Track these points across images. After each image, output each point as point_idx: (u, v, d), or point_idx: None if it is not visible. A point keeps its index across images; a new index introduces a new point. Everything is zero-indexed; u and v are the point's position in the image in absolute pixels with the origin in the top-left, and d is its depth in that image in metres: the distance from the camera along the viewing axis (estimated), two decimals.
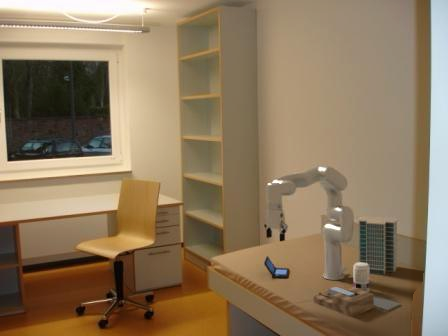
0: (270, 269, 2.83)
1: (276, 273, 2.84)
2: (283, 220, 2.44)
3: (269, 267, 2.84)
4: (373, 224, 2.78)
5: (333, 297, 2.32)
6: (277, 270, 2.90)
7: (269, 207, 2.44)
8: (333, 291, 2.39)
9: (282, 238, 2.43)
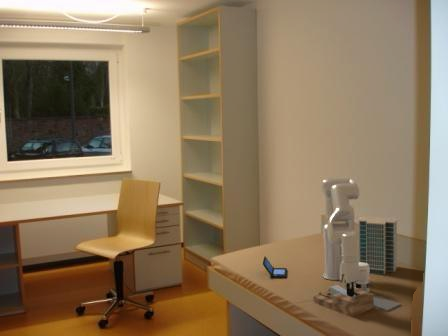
0: (268, 269, 2.83)
1: (274, 273, 2.85)
2: None
3: (267, 267, 2.84)
4: (373, 224, 2.78)
5: (333, 297, 2.32)
6: (275, 270, 2.90)
7: (356, 259, 2.29)
8: (334, 290, 2.39)
9: (353, 291, 2.33)
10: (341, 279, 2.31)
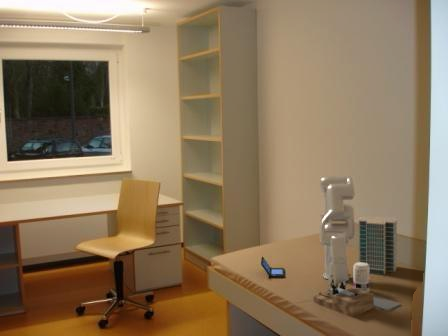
0: (267, 269, 2.83)
1: (272, 273, 2.85)
2: None
3: (265, 267, 2.84)
4: (373, 224, 2.78)
5: (333, 297, 2.32)
6: (273, 270, 2.90)
7: (344, 261, 2.35)
8: None
9: None
10: None
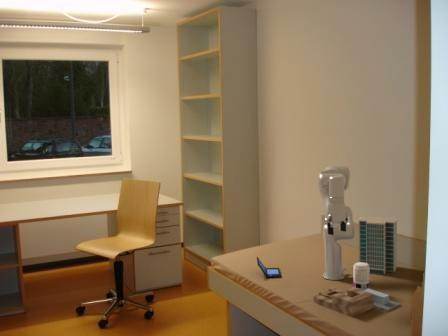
0: (263, 269, 2.83)
1: (269, 273, 2.85)
2: None
3: (262, 267, 2.84)
4: (373, 224, 2.78)
5: (333, 297, 2.32)
6: (268, 270, 2.90)
7: (342, 200, 2.42)
8: None
9: (345, 228, 2.50)
10: (328, 219, 2.44)
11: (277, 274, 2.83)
